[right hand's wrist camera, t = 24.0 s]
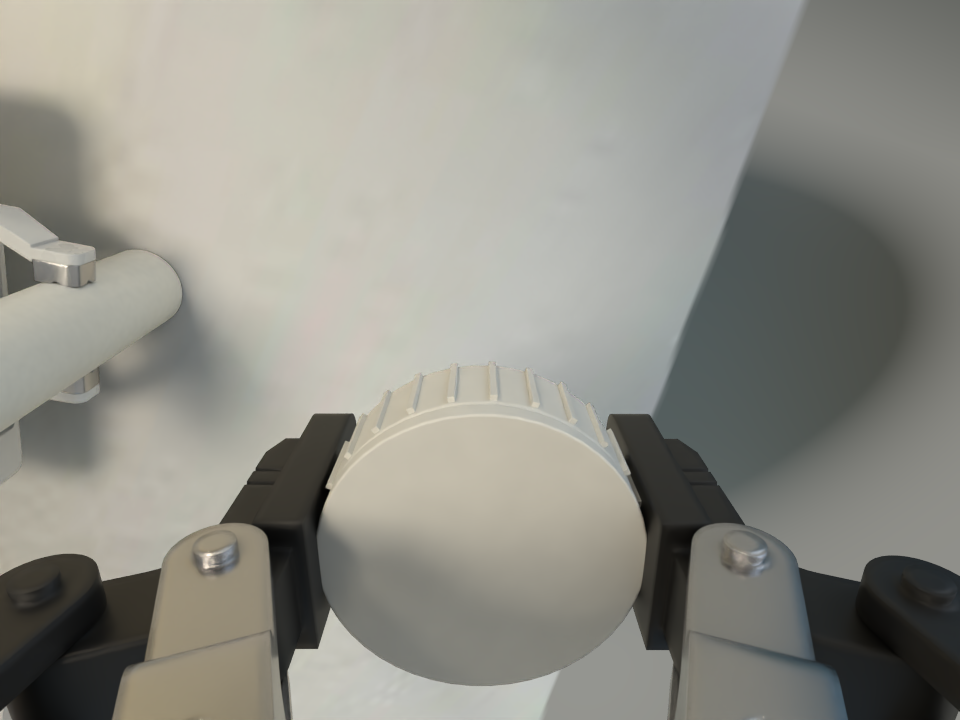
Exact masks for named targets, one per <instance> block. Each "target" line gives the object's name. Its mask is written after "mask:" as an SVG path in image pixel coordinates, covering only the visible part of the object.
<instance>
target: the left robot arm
mask: <svg viewBox="0 0 960 720" xmlns="http://www.w3.org/2000/svg"><path fill="white" fill-rule="evenodd" d="M4 245H6V246H7V247H9V248H10V249H12V250H13V251H15V252H16V253H18V254H19V255H21V256H22V257H24V258H26V259H27V260H29V261H30V262H33V271H34V281H38V282H44V283H49V284H51V283H53V282H57V283H58V284H59V285H62V286H66V287H81V286H84V285H86V284H87V282H94V281H95V280H96V251H95V248H94V247H92V246H87V245H82V244H76V243H71V242H66V241H61V240H59V239H58V237H57V236H56V235H55V234H54V233H52V232H51V231H50V230H48V229H47V228H46V227H44V226H43V225H42V224H41V223H39V222H38V221H37V220H35V219H34V218H33V217H32V216H30V215H29V214H28V213H26V212H25V211H24V210H22V209H21V208H20V207H14V206H9V205H4V204H0V298H2V297H5V296H8V289H7V277H6V266H5V254H4ZM98 393H100V382H99V367H97V368H96V369H94V370H93V371H91V372H90V373H88V374H87V375H85V376H84V377H82V378H81V379H79V380H78V381H76V382H75V383H73V384H72V385H70V386H69V387H67V388H66V389H64V390H63V391H61V392H60V393H58V394H57V395H55V396H54V397H52V398H51V399H49V400H55V401H61V402H67V403H73V404H78V403H84V402H87V401H89V400H90V399H91V398H93V397H94V396H96V395H97V394H98ZM21 465H22V449H21V437H20V426H19V420H18V421H16V422H15V423H13V424H12V425H10V426H9V427H7V428H6V429H4V430H3V431H1V432H0V485H1V484H3V483H4V482H5V481H6V480H8V479H9V478H10V477H11V476H12V475H14V474H15V473H16V472H17V471H18V470H19V469H20V467H21Z"/></svg>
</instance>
